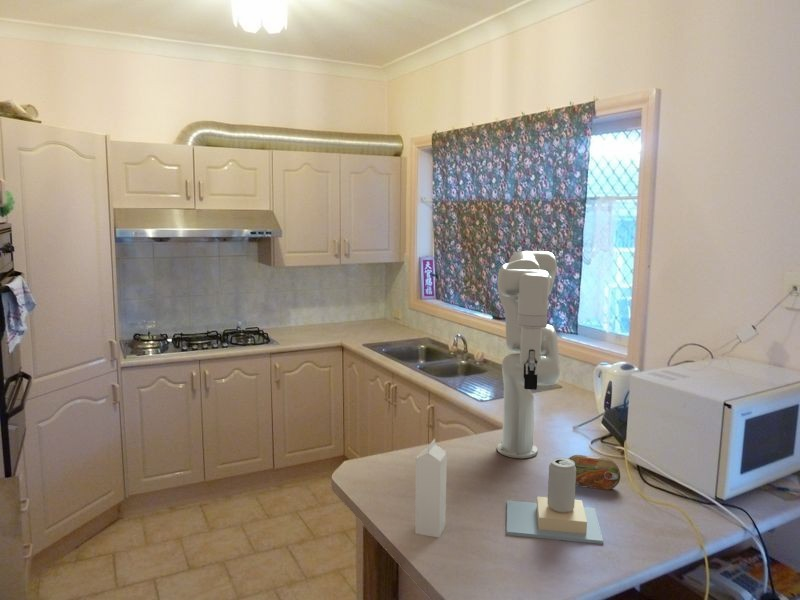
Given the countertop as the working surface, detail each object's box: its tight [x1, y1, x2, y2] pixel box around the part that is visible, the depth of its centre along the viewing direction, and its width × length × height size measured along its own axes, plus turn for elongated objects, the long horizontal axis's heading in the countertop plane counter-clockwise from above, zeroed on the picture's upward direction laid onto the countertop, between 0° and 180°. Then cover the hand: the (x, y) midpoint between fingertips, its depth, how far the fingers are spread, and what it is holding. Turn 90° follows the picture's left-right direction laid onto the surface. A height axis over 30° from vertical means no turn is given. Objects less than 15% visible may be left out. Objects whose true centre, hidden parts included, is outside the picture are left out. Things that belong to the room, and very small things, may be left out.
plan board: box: [506, 496, 604, 545], centre depth 152 cm, size 16×22×4 cm
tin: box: [568, 454, 621, 491], centre depth 172 cm, size 15×3×8 cm, turn 70°
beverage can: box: [547, 457, 576, 513], centre depth 151 cm, size 6×6×12 cm
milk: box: [414, 437, 448, 539], centre depth 147 cm, size 6×6×22 cm
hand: (529, 383), depth 164 cm, fingers open, 9 cm apart
